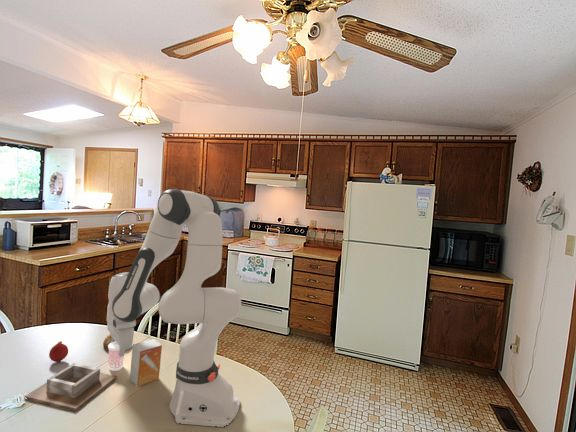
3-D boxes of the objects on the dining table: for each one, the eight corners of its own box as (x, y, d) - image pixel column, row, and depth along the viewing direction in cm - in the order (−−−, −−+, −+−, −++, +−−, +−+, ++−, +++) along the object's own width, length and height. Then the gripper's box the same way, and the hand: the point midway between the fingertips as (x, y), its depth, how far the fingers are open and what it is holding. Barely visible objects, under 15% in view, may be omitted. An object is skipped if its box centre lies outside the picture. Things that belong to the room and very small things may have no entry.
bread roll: (117, 347, 142) (111, 330, 142) (137, 341, 141) (131, 324, 141) (101, 358, 133) (95, 340, 133) (123, 352, 131) (116, 333, 131)
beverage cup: (113, 373, 117) (116, 336, 116) (102, 368, 120) (105, 332, 119) (128, 366, 123) (131, 331, 122) (117, 361, 125) (120, 326, 124)
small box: (136, 387, 111) (139, 351, 110) (129, 379, 115) (132, 344, 114) (159, 379, 117) (162, 344, 116) (151, 371, 121) (154, 338, 120)
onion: (57, 367, 117) (58, 346, 117) (44, 364, 118) (45, 343, 118) (71, 360, 123) (72, 339, 123) (58, 356, 124) (59, 336, 124)
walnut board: (116, 378, 115) (117, 365, 114) (75, 411, 97) (76, 395, 97) (72, 369, 118) (73, 355, 117) (24, 399, 100) (25, 383, 99)
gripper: (104, 306, 126) (101, 340, 127) (118, 327, 111) (115, 365, 112) (121, 304, 130) (119, 336, 131) (137, 323, 115) (134, 360, 116)
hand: (117, 350), depth 122 cm, fingers open, 8 cm apart
